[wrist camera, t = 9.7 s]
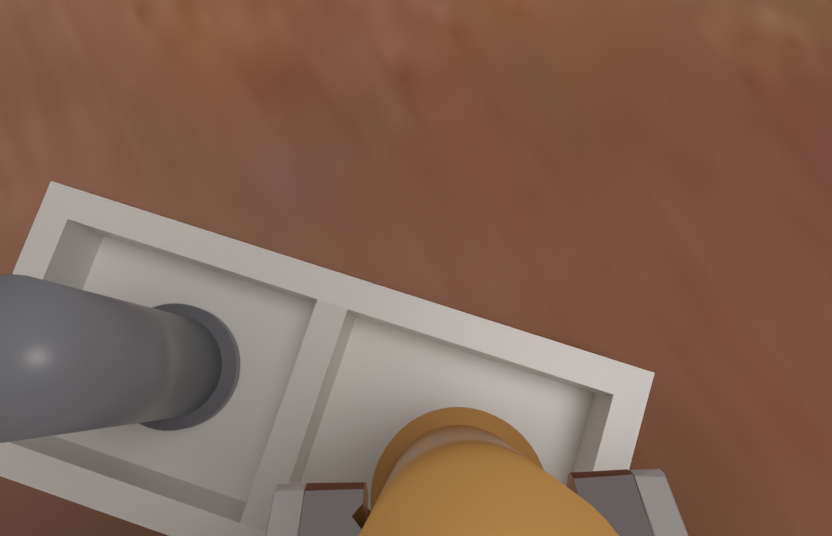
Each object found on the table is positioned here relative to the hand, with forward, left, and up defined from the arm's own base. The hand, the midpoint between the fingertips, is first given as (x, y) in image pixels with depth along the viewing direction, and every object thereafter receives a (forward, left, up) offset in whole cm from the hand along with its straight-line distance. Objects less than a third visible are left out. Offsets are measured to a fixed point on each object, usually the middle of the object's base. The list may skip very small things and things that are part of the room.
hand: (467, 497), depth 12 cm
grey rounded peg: (-10, 0, -11) cm, 15 cm away
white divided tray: (-5, 0, -12) cm, 13 cm away
